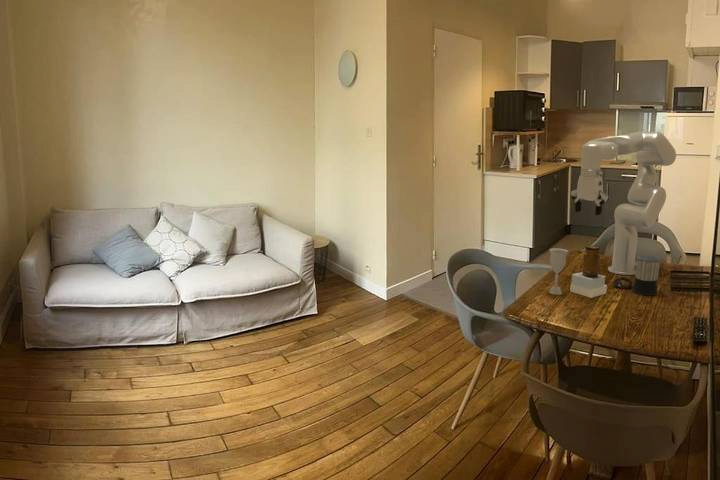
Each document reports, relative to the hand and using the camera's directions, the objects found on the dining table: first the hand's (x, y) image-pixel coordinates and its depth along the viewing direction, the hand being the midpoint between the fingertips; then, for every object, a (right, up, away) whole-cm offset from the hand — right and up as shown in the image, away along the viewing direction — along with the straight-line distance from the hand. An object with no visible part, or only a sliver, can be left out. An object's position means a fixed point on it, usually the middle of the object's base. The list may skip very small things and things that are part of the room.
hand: (587, 213), depth 253 cm
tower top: (-3, -30, -8) cm, 31 cm away
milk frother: (+18, -33, -4) cm, 37 cm away
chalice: (-16, -33, -7) cm, 38 cm away
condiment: (-2, -26, -10) cm, 28 cm away
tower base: (-3, -34, -7) cm, 34 cm away
